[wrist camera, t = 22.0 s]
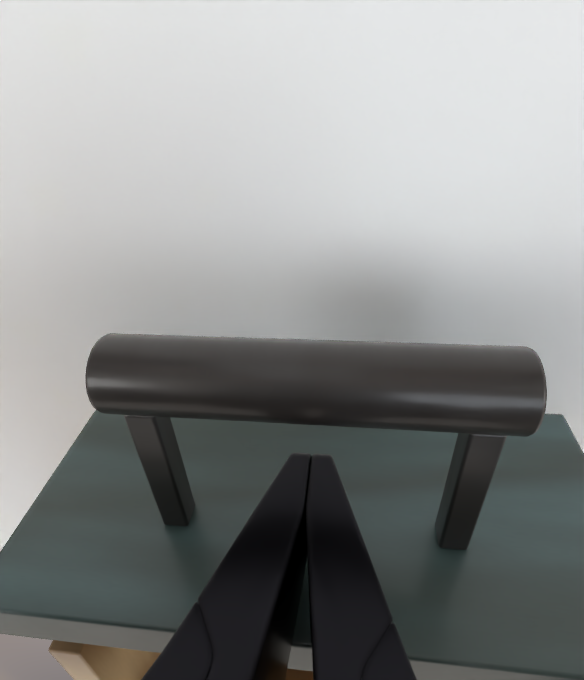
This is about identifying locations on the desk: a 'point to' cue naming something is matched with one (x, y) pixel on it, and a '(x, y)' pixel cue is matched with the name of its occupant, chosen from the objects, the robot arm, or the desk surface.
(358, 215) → the desk surface
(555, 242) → the desk surface
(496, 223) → the desk surface
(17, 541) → the drawer
